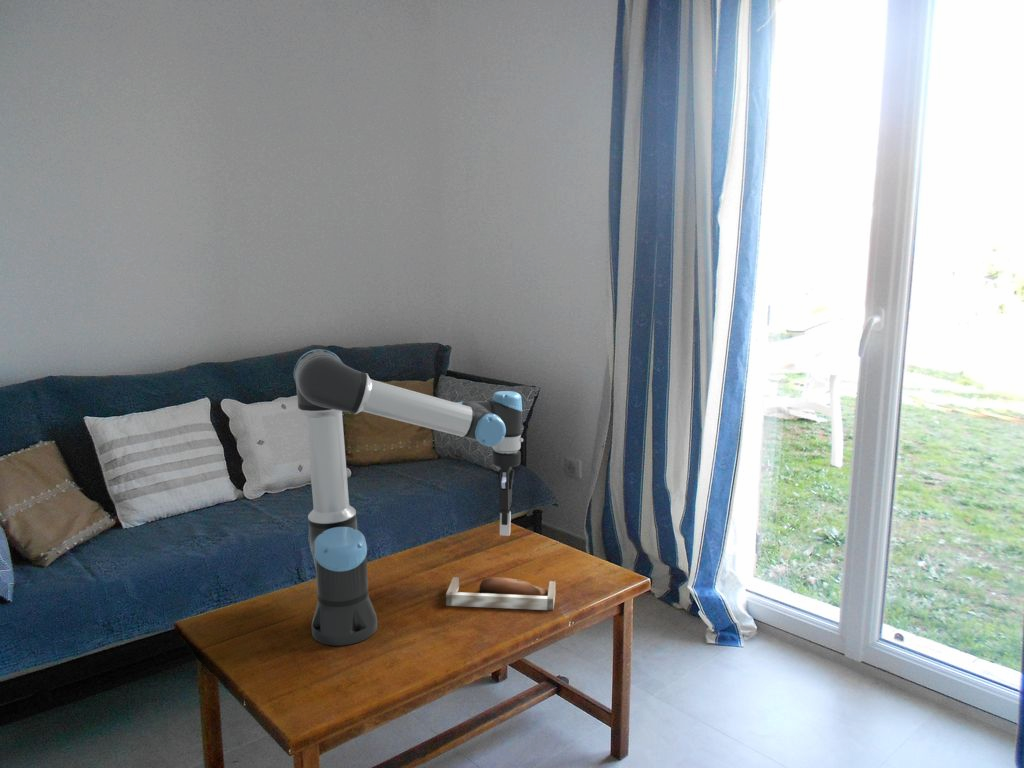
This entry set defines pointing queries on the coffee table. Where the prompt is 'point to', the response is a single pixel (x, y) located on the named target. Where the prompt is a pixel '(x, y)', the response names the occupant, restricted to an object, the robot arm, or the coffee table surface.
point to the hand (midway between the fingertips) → (504, 534)
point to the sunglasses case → (510, 587)
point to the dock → (499, 599)
